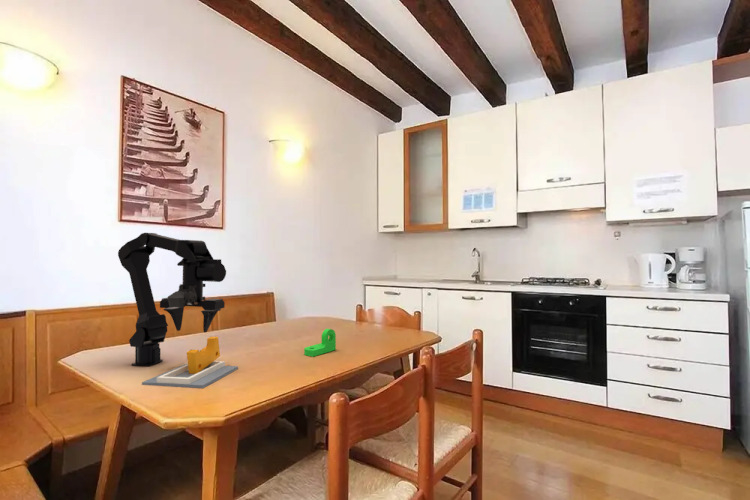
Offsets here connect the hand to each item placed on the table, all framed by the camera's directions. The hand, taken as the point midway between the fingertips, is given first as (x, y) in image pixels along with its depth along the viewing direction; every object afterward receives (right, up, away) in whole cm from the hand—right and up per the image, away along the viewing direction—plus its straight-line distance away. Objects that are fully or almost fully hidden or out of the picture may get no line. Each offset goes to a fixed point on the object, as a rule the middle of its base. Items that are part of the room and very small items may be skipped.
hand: (191, 331), depth 120 cm
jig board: (+4, -11, -8) cm, 14 cm away
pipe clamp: (+4, -10, -1) cm, 11 cm away
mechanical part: (+36, -12, +22) cm, 44 cm away
